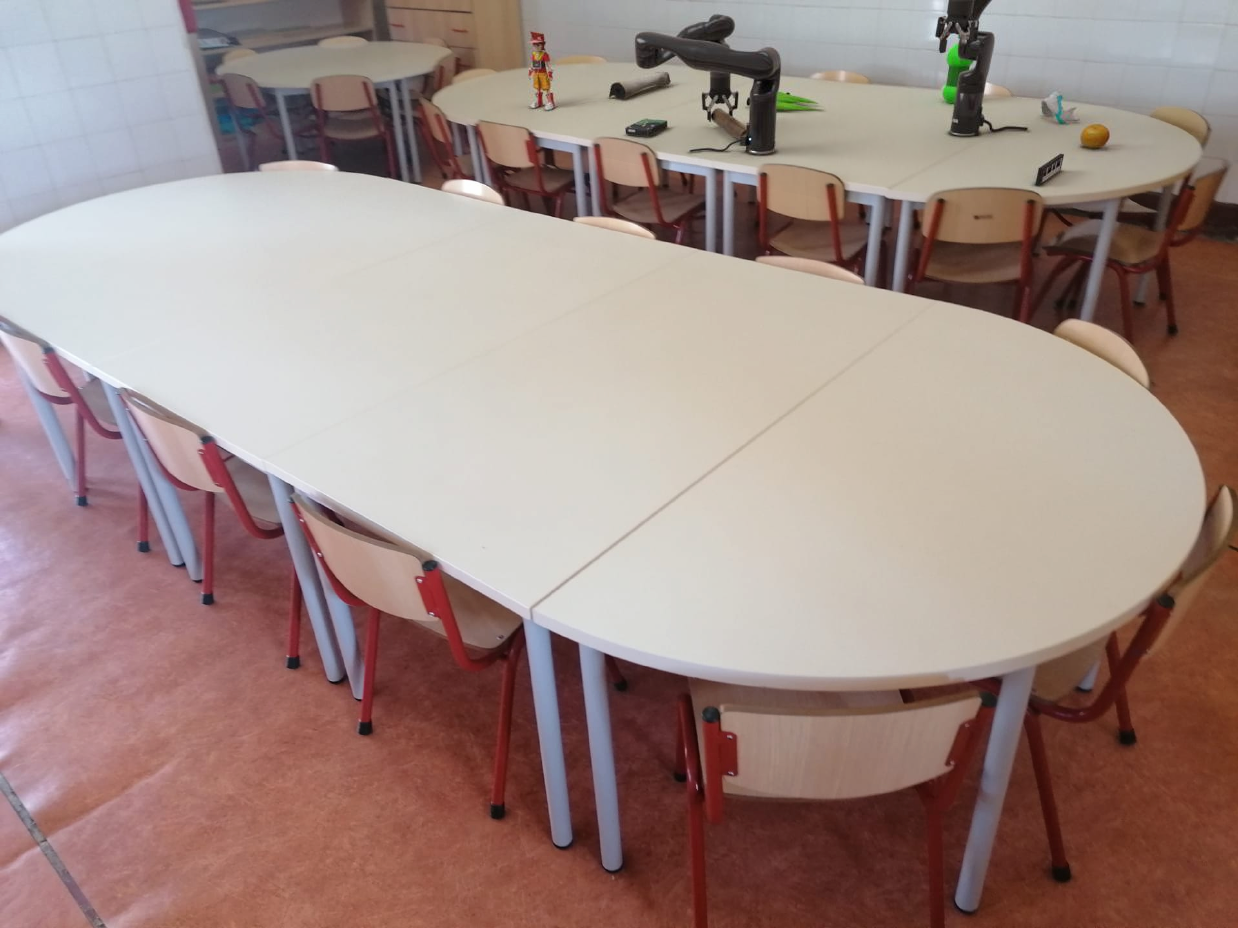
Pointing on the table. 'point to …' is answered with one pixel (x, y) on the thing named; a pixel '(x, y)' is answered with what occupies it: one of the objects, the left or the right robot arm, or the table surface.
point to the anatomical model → (1057, 108)
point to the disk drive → (646, 127)
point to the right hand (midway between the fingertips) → (953, 54)
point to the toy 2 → (789, 102)
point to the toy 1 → (541, 71)
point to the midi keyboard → (1049, 169)
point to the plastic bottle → (954, 73)
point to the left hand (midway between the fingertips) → (719, 121)
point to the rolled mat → (638, 84)
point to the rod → (728, 123)
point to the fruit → (1095, 136)
